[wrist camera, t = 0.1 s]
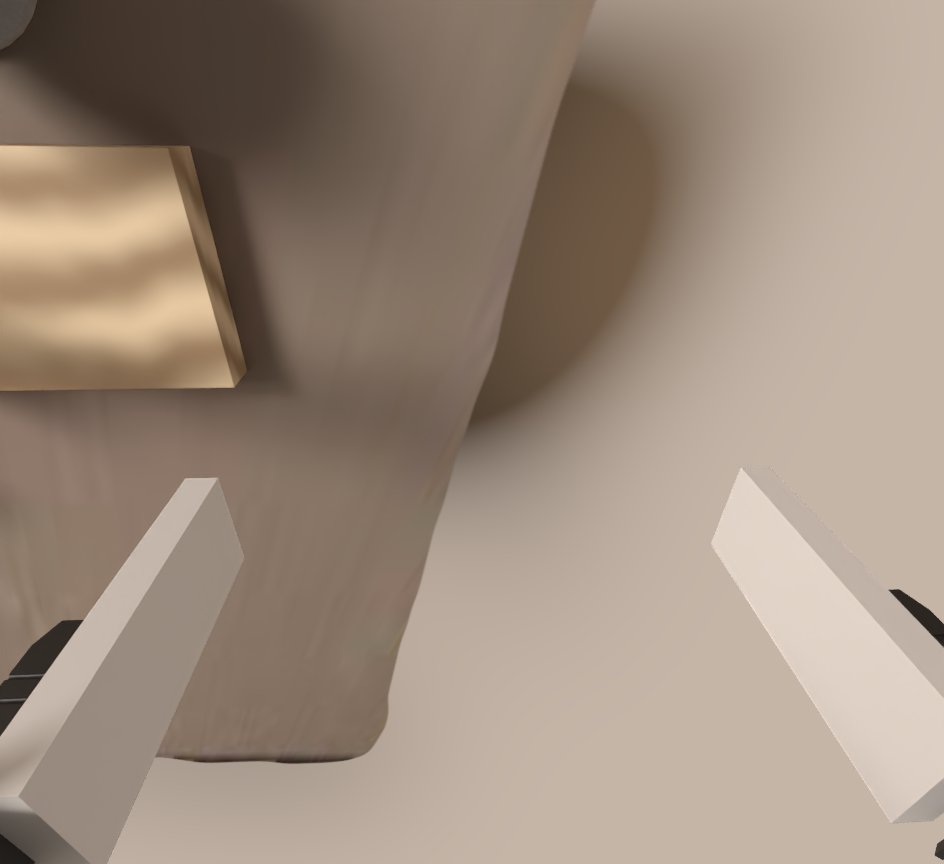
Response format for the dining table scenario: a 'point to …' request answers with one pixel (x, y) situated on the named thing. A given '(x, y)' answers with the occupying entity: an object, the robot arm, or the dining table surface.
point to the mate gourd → (14, 19)
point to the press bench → (110, 272)
